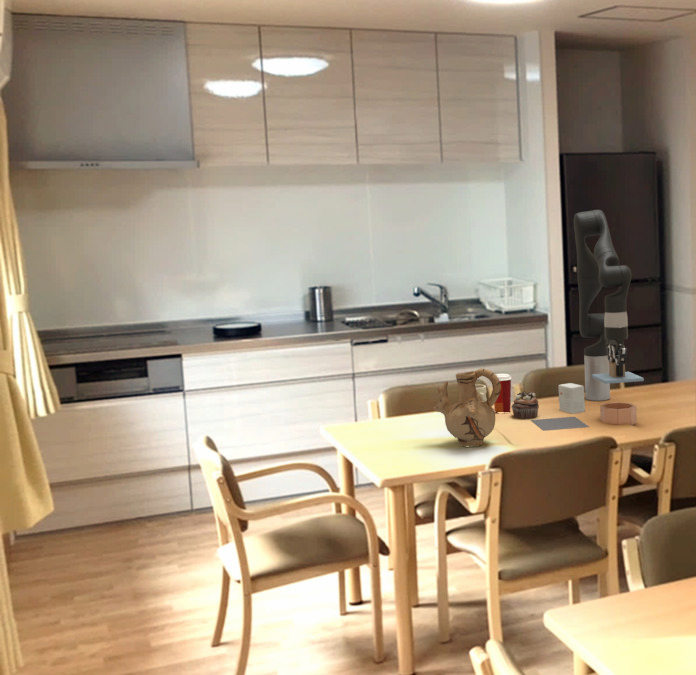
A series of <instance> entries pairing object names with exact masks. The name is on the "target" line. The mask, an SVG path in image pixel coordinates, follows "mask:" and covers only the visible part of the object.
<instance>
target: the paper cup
mask: <svg viewBox="0 0 696 675" xmlns="http://www.w3.org/2000/svg"><path fill="white" fill-rule="evenodd" d="M494 374H495V373H494ZM495 375H496V376H497V377H498V379H499V381H500V384H501V390H500V394H499V396H498V398H497V400H496V402H495V403H494V404H493V406H494V411H496V412H509V413H510V412H511V406H512V405H511V403H512V402H511V400H512V398H511V396H512V395H511V394H512V390H511V389H512V378H513V377H512V376H511V374H509V373H496V374H495ZM491 386H492V388H493V385H492V384H491ZM496 412H495V413H496Z"/></svg>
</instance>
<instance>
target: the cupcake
mask: <svg viewBox="0 0 696 675" xmlns="http://www.w3.org/2000/svg"><path fill="white" fill-rule="evenodd" d="M511 410H512V414H513V418H515V419H520V420H533V419H536V418H537V417H538V412H539V399H537V397H536V393H535V392H533V391H532V392H526V391H522V392H519V393H517V394H516V395H515V398H514V400H513V403H512V405H511Z"/></svg>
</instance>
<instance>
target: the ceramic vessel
mask: <svg viewBox="0 0 696 675" xmlns="http://www.w3.org/2000/svg"><path fill="white" fill-rule="evenodd" d="M481 377H485V378H486V379H488V380H489V382H490V383H491V386H492V385H493V387H492V391H491V394H490V396H489V398H488V399H487V401H485V402H482V398H481V397H480V395H479V393H478V392H477V391H476V387H475V385H476V382H477V380H478V379H479V378H481ZM455 378H456V383H457V389H458V396H457V397H458V399H457V401H456V402H455V403H452V402H451V401H450V398H449V395H448V385H449V381H445V383H444V384H443V385H440V386H438V388H437V393H438V394H439V400H438V403H437V404H435V406H434V407H432V410H433V411H434V412H437V413H441V415H443V416H444V421H445V427H446V429H447V431H448V432H449V433H450V434H451V436H453V437H454V438H455V439H457V443H458V444H459V445H460V446H461V445H462V446H461V447H463V446H469V447H468V448H471V447H470V446H477V447H479V446H478V445H481V446H483V445H484V444H485V438H486V437H488V436H490V434H491V433H492V432H493V430H494V429H495V426H496V412H495V408H493V406H494V403H495V402H496V400H497V398H498V396H499V394H500V390H501V384H500V381H499V379H498V377H497V376H496V375H495V372H493V371H492V370H489V369H487V368H478V369H476V370H471V371H464V372H458V373H455ZM482 444H483V445H482Z"/></svg>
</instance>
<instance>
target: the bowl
mask: <svg viewBox="0 0 696 675" xmlns="http://www.w3.org/2000/svg"><path fill="white" fill-rule="evenodd" d="M599 409H600V411H599V413H600V416H599V417H600V418H599V419H600V421H601V422H603V423H604V424H610V425H627V424H629V425H630V426H635V425H636V424H637V422H638V420H637V419H638V415H637V413H638V412H637V405H636V404H633V403H632V402H620V401H619V402H618V401H617V402H606V403H603V404H601V405H599ZM634 424H635V425H634Z"/></svg>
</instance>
